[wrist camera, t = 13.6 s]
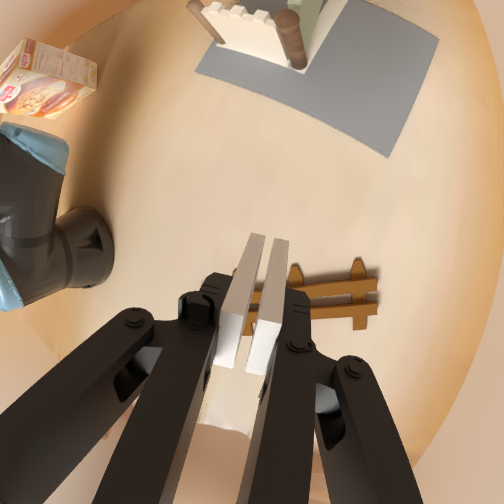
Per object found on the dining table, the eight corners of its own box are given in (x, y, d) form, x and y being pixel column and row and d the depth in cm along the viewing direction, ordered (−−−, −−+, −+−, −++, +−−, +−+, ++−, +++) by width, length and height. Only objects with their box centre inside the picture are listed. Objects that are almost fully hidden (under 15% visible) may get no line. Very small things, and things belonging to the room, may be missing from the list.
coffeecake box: (53, 120, 44) (-18, 113, 26) (54, 93, 43) (-13, 81, 25) (97, 90, 40) (16, 68, 22) (98, 62, 39) (24, 35, 21)
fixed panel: (216, 44, 34) (183, 8, 23) (222, 35, 33) (191, -2, 22) (287, 66, 32) (271, 24, 21) (292, 56, 32) (278, 12, 21)
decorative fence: (374, 325, 37) (373, 257, 35) (376, 331, 35) (376, 260, 33) (211, 332, 44) (199, 272, 42) (206, 338, 42) (193, 276, 40)
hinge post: (287, 68, 32) (267, 18, 20) (295, 55, 31) (278, 2, 19) (304, 75, 32) (291, 25, 19) (312, 61, 31) (302, 8, 19)
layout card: (195, 72, 35) (194, 71, 35) (263, -26, 29) (262, -28, 28) (387, 158, 32) (388, 158, 31) (438, 40, 25) (439, 39, 24)
